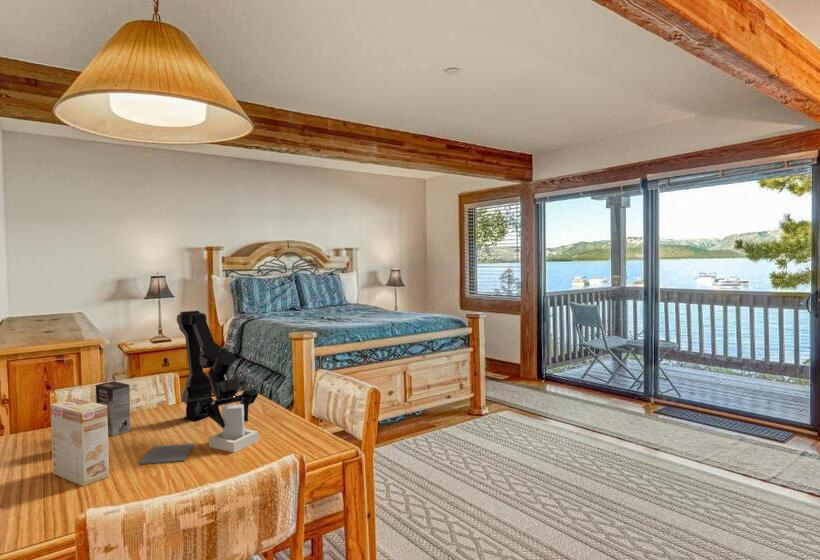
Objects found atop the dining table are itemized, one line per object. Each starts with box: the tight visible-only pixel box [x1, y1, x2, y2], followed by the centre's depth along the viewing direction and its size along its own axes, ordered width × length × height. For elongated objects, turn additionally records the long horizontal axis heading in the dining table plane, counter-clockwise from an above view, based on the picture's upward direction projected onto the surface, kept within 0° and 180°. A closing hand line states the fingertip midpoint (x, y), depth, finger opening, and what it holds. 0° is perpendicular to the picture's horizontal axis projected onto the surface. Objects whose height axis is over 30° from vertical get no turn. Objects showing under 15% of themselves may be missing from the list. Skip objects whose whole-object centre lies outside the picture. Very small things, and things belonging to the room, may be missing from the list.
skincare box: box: [221, 403, 246, 441], centre depth 153 cm, size 6×4×12 cm
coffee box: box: [95, 380, 131, 437], centre depth 163 cm, size 9×6×16 cm
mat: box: [138, 443, 196, 465], centre depth 145 cm, size 12×12×1 cm
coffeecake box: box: [50, 398, 111, 487], centre depth 131 cm, size 15×7×20 cm, turn 61°
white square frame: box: [208, 428, 260, 454], centre depth 153 cm, size 10×10×3 cm
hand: (235, 424), depth 152 cm, fingers closed on skincare box, 7 cm apart
